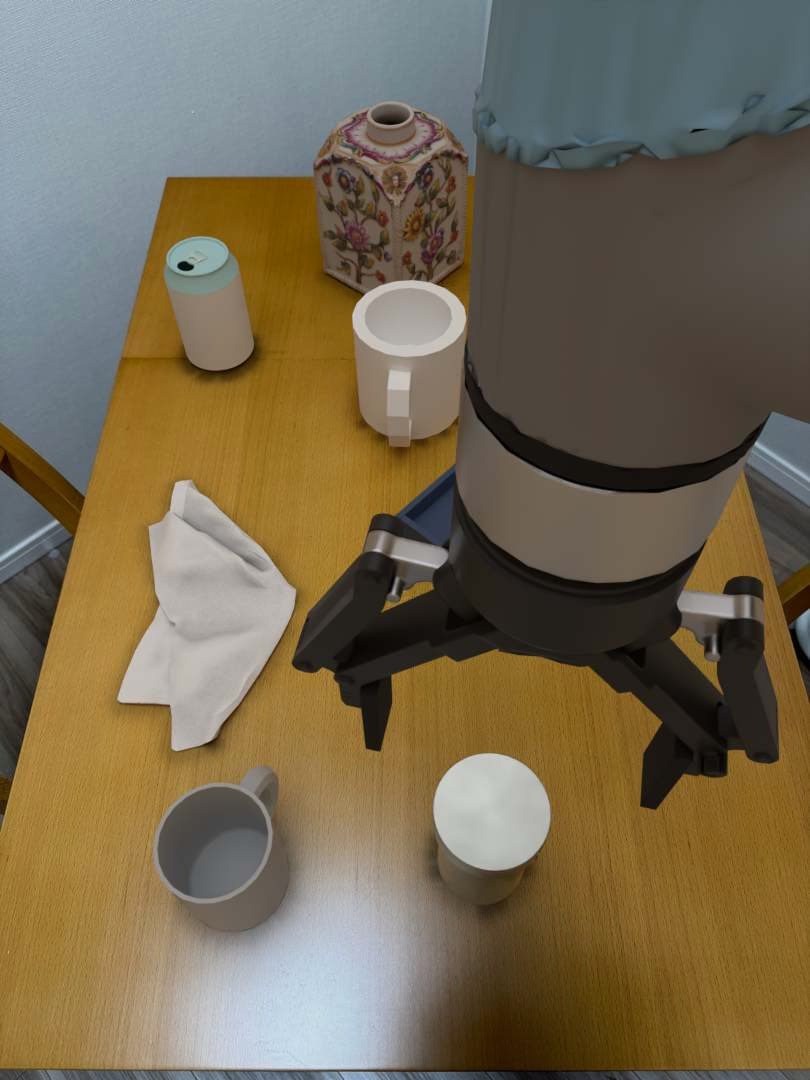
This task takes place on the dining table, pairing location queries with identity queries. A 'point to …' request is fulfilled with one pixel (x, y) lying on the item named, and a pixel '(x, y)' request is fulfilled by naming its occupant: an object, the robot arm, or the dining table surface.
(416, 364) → the mug
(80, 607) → the dining table surface
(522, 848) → the lid
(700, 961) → the dining table surface
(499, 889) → the jar
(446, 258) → the decorative jar
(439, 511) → the tray
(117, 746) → the dining table surface
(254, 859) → the cup
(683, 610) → the robot arm
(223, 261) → the can
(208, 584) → the cloth
